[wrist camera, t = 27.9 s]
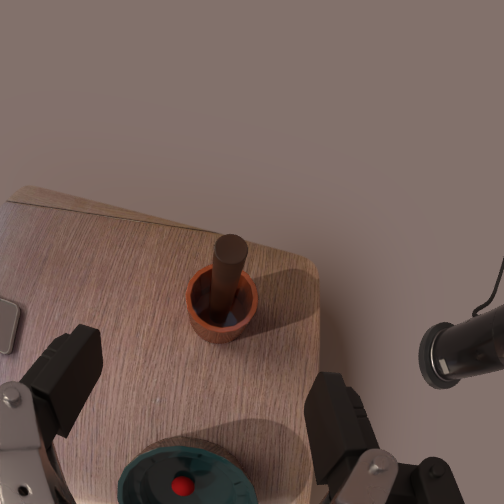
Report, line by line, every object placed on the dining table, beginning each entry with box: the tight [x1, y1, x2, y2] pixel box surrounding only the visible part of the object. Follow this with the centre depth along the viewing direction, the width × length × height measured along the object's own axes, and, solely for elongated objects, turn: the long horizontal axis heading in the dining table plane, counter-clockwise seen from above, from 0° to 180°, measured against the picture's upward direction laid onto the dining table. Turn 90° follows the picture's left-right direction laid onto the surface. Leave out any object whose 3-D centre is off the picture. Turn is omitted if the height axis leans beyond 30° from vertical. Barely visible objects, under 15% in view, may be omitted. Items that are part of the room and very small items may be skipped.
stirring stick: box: [209, 234, 248, 324], centre depth 27 cm, size 2×2×18 cm
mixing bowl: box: [117, 437, 258, 504], centre depth 23 cm, size 14×14×6 cm
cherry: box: [171, 476, 195, 496], centre depth 24 cm, size 3×3×3 cm
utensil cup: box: [186, 264, 258, 344], centre depth 32 cm, size 7×7×8 cm
